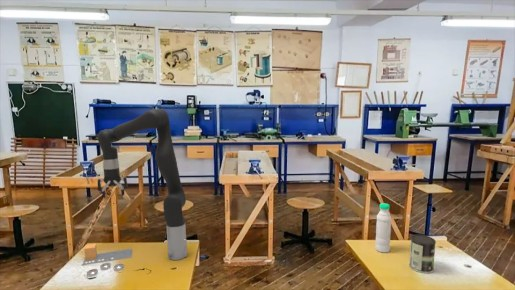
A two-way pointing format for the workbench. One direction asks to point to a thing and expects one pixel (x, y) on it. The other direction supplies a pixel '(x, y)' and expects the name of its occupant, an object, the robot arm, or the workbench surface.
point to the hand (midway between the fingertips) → (113, 196)
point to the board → (110, 256)
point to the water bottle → (383, 229)
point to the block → (90, 251)
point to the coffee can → (422, 253)
